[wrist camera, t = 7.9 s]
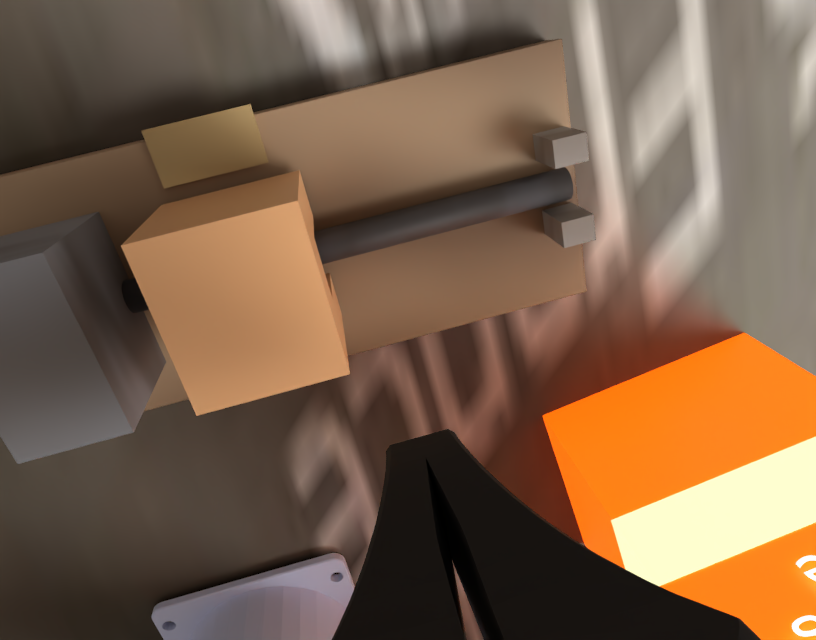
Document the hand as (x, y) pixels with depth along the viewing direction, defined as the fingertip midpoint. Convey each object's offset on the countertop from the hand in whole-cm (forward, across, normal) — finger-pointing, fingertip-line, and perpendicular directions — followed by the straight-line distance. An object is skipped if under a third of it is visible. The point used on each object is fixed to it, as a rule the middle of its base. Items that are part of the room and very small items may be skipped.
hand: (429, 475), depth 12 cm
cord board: (+9, +2, -3) cm, 10 cm away
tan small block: (+8, +3, -3) cm, 9 cm away
